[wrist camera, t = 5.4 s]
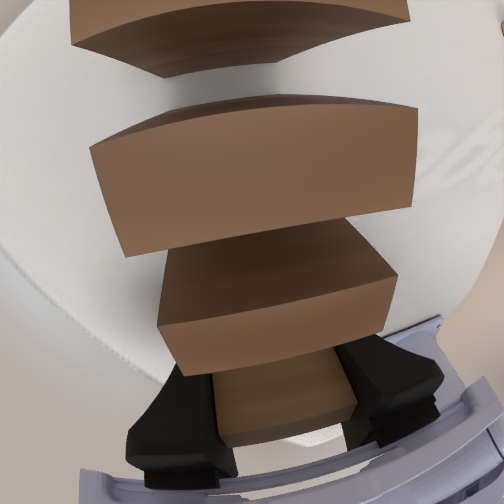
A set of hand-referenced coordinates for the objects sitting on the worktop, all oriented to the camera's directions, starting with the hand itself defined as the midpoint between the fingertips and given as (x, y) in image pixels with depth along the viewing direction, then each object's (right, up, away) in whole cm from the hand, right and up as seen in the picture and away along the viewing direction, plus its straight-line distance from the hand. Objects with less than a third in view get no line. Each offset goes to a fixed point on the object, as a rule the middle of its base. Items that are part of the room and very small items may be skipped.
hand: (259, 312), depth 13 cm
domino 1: (-2, +10, -4) cm, 11 cm away
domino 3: (-1, +5, -1) cm, 6 cm away
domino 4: (0, +1, +2) cm, 2 cm away
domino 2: (-1, +8, -3) cm, 8 cm away
